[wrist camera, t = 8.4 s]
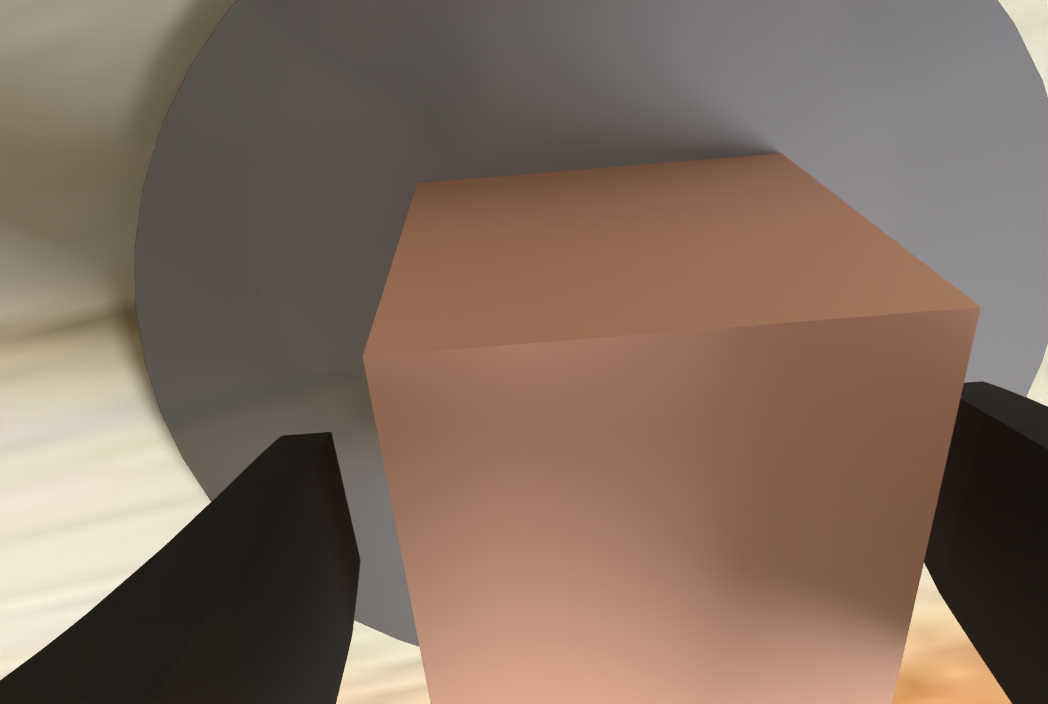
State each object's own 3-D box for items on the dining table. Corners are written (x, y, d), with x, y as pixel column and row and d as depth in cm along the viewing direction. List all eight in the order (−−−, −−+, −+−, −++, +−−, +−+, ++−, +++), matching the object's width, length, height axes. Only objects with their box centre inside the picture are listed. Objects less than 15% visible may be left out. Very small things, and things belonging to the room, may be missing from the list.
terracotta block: (781, 152, 11) (981, 307, 6) (756, 451, 13) (889, 715, 9) (417, 183, 11) (362, 356, 6) (458, 474, 13) (440, 750, 9)
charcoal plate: (1188, -158, 10) (1242, -165, 9) (907, 635, 16) (926, 666, 16) (46, -189, 9) (9, -198, 9) (232, 642, 16) (220, 676, 15)
